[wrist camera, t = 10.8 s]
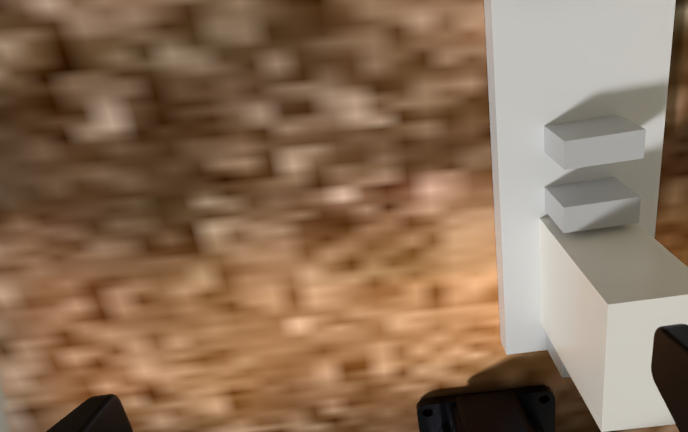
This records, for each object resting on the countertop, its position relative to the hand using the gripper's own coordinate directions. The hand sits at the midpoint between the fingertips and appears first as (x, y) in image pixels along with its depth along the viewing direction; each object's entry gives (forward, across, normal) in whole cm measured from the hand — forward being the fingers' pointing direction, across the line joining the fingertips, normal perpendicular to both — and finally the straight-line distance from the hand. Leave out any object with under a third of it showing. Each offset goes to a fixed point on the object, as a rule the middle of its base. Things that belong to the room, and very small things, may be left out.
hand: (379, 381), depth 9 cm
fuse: (+12, -8, +6) cm, 16 cm away
